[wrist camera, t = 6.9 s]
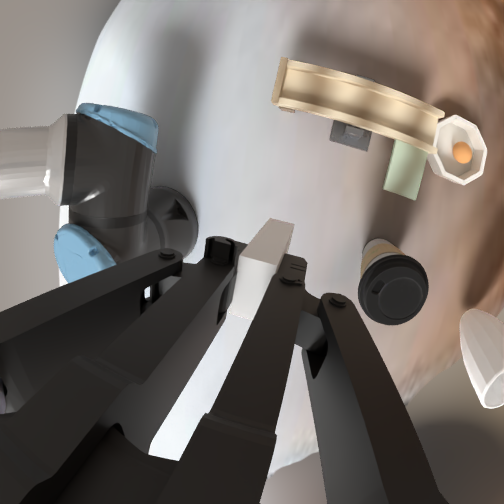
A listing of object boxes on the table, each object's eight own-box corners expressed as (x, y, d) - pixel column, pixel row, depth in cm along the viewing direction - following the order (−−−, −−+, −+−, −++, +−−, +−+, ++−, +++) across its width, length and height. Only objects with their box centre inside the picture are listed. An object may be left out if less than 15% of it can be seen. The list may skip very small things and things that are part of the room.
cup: (492, 291, 39) (545, 356, 19) (472, 336, 42) (509, 409, 23) (454, 283, 41) (505, 354, 21) (434, 330, 45) (466, 412, 25)
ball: (472, 167, 31) (465, 166, 34) (477, 146, 29) (469, 147, 33) (454, 158, 32) (447, 158, 35) (458, 137, 30) (452, 138, 34)
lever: (262, 155, 36) (258, 155, 33) (283, 64, 31) (281, 56, 28) (416, 200, 34) (425, 205, 31) (436, 113, 29) (446, 111, 26)
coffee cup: (352, 227, 43) (362, 259, 30) (407, 228, 41) (438, 260, 27) (350, 281, 46) (355, 330, 33) (402, 282, 44) (424, 330, 30)
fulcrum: (278, 128, 41) (268, 122, 35) (292, 66, 37) (284, 50, 31) (366, 151, 39) (373, 150, 32) (380, 88, 35) (388, 75, 28)
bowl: (418, 167, 37) (426, 168, 34) (430, 110, 34) (439, 106, 30) (467, 188, 36) (477, 192, 32) (479, 134, 32) (490, 133, 28)
